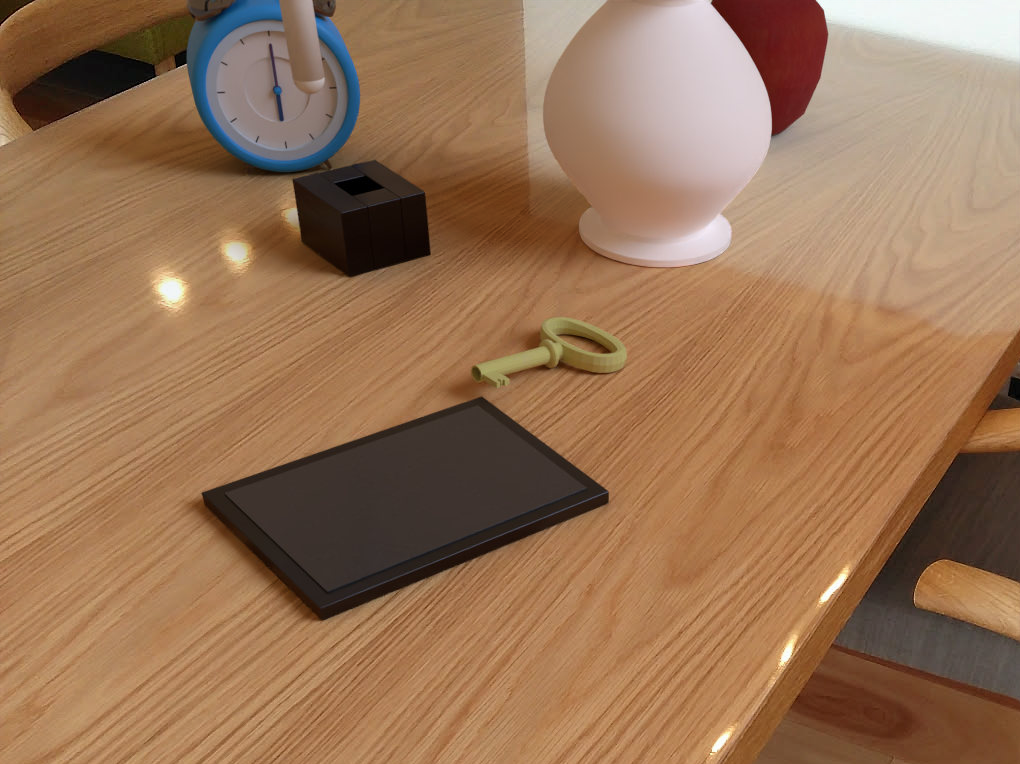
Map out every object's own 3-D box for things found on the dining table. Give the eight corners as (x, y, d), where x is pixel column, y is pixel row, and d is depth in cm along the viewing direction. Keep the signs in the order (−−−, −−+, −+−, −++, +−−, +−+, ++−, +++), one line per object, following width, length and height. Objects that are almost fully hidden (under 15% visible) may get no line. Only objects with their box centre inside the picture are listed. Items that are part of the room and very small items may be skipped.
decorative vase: (536, 189, 124) (525, -148, 107) (740, 187, 127) (761, -139, 110) (558, 285, 112) (549, -79, 94) (783, 280, 115) (814, -71, 98)
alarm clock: (209, 181, 120) (171, -16, 110) (203, 152, 124) (166, -41, 114) (370, 171, 124) (348, -21, 114) (358, 143, 128) (336, -45, 118)
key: (465, 395, 99) (463, 367, 97) (559, 324, 107) (559, 297, 106) (556, 426, 97) (556, 397, 96) (645, 351, 105) (645, 324, 104)
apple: (735, 95, 144) (744, -54, 134) (840, 123, 140) (856, -28, 131) (673, 131, 136) (678, -25, 127) (783, 162, 132) (796, 4, 123)
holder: (349, 277, 110) (341, 212, 106) (301, 242, 114) (291, 178, 110) (431, 254, 114) (425, 191, 110) (382, 221, 117) (375, 159, 114)
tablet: (322, 621, 81) (319, 606, 80) (203, 504, 88) (200, 490, 87) (609, 503, 91) (609, 489, 90) (482, 407, 98) (481, 394, 97)
